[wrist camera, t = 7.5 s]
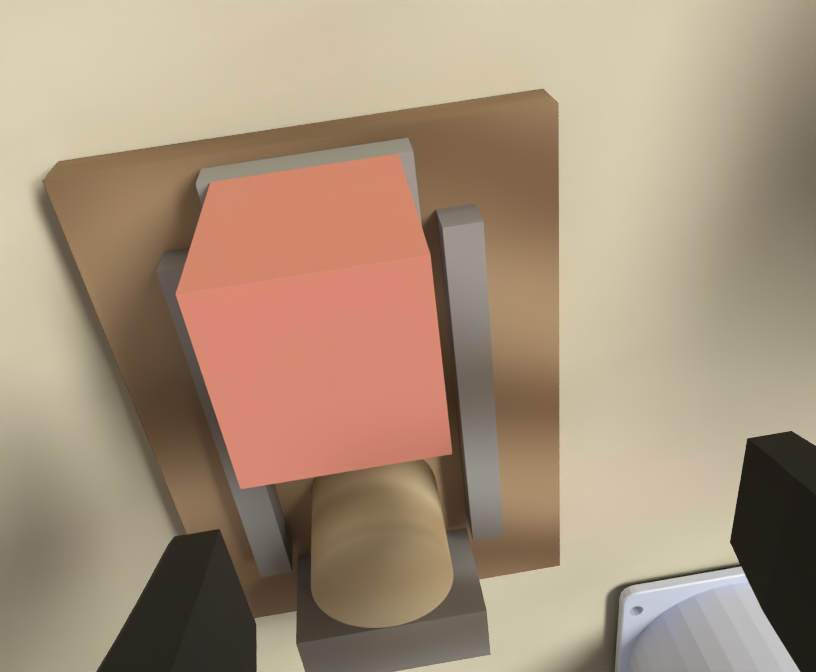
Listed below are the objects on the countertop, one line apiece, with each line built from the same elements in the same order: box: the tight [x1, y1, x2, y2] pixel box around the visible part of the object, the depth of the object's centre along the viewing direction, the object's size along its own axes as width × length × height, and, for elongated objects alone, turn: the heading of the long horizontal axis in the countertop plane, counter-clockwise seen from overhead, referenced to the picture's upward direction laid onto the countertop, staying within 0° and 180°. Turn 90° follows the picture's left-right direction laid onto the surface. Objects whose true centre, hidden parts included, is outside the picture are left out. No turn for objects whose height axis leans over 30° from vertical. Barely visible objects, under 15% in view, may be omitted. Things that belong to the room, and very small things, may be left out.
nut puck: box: [311, 459, 453, 628], centre depth 20 cm, size 4×4×3 cm
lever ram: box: [176, 138, 452, 489], centre depth 14 cm, size 4×4×6 cm
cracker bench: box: [43, 89, 560, 672], centre depth 19 cm, size 15×11×4 cm
